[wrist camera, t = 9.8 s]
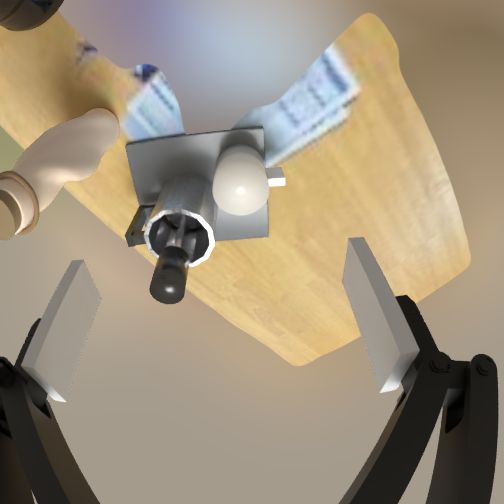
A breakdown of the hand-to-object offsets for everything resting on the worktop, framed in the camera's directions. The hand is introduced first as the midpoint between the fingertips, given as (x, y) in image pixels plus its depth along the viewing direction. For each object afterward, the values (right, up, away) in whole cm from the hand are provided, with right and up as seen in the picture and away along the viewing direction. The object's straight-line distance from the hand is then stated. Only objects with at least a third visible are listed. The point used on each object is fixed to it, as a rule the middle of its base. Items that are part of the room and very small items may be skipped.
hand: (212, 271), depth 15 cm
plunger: (-9, +8, +35) cm, 37 cm away
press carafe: (-10, +10, +37) cm, 40 cm away
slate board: (-7, +11, +37) cm, 39 cm away
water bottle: (-24, +21, +29) cm, 43 cm away
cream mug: (+1, +15, +34) cm, 37 cm away
